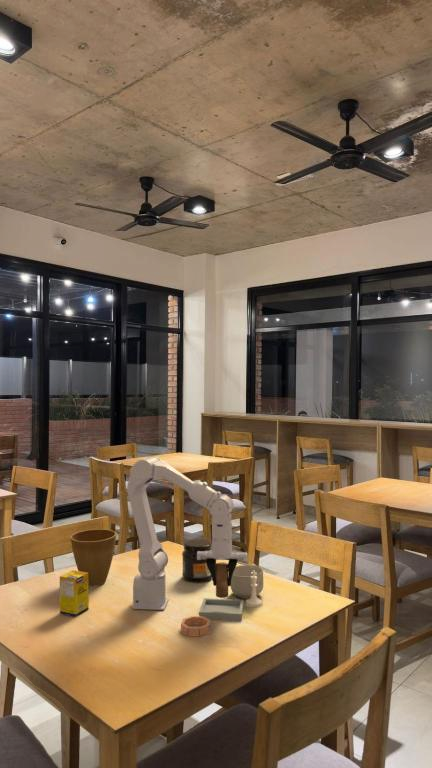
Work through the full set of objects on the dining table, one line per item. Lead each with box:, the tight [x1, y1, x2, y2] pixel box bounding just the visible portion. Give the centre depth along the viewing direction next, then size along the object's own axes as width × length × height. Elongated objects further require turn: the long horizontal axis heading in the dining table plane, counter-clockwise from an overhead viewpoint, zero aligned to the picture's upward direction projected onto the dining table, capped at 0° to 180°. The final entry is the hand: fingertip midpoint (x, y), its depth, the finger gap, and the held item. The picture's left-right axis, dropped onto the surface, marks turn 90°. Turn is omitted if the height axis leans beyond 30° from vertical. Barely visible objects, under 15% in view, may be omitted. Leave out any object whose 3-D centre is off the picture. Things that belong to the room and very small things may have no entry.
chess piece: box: [245, 570, 263, 608], centre depth 164 cm, size 5×5×10 cm
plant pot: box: [70, 528, 117, 587], centre depth 182 cm, size 15×15×16 cm
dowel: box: [215, 561, 229, 599], centre depth 158 cm, size 4×4×9 cm
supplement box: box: [59, 569, 90, 617], centre depth 158 cm, size 6×6×11 cm
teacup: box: [230, 563, 264, 600], centre depth 172 cm, size 14×11×8 cm
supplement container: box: [181, 538, 212, 583], centre depth 186 cm, size 10×10×12 cm
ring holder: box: [180, 615, 211, 637], centre depth 147 cm, size 8×8×2 cm
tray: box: [198, 597, 245, 621], centre depth 158 cm, size 12×10×2 cm
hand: (222, 584), depth 158 cm, fingers closed on dowel, 4 cm apart
